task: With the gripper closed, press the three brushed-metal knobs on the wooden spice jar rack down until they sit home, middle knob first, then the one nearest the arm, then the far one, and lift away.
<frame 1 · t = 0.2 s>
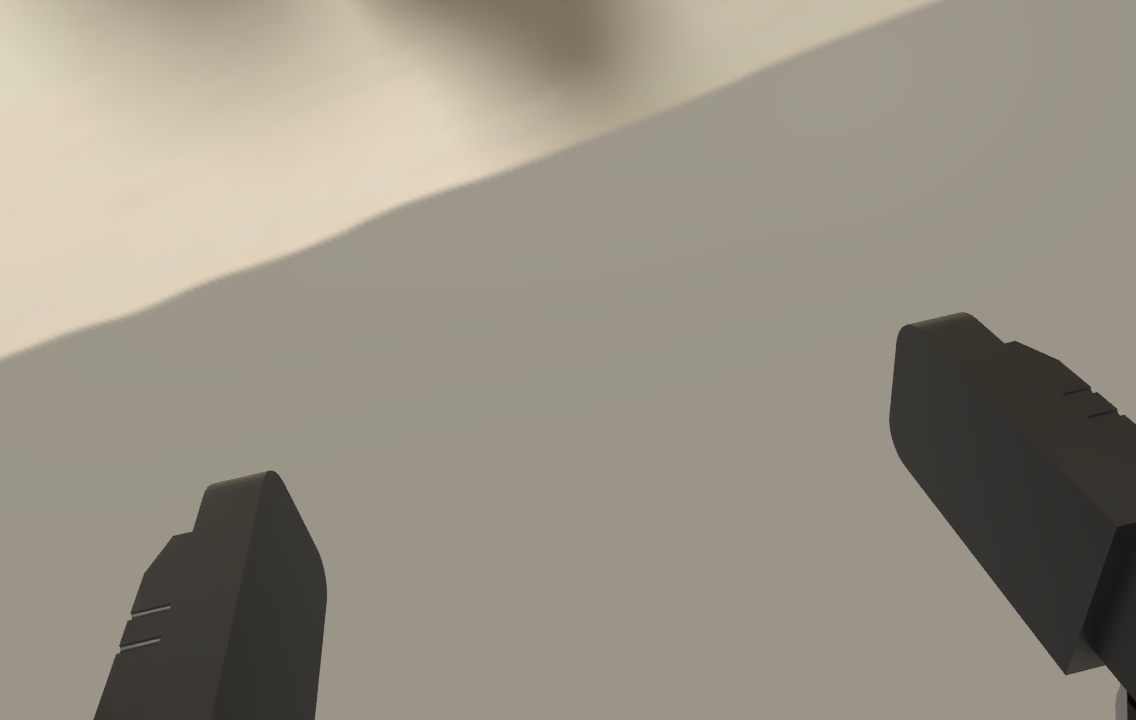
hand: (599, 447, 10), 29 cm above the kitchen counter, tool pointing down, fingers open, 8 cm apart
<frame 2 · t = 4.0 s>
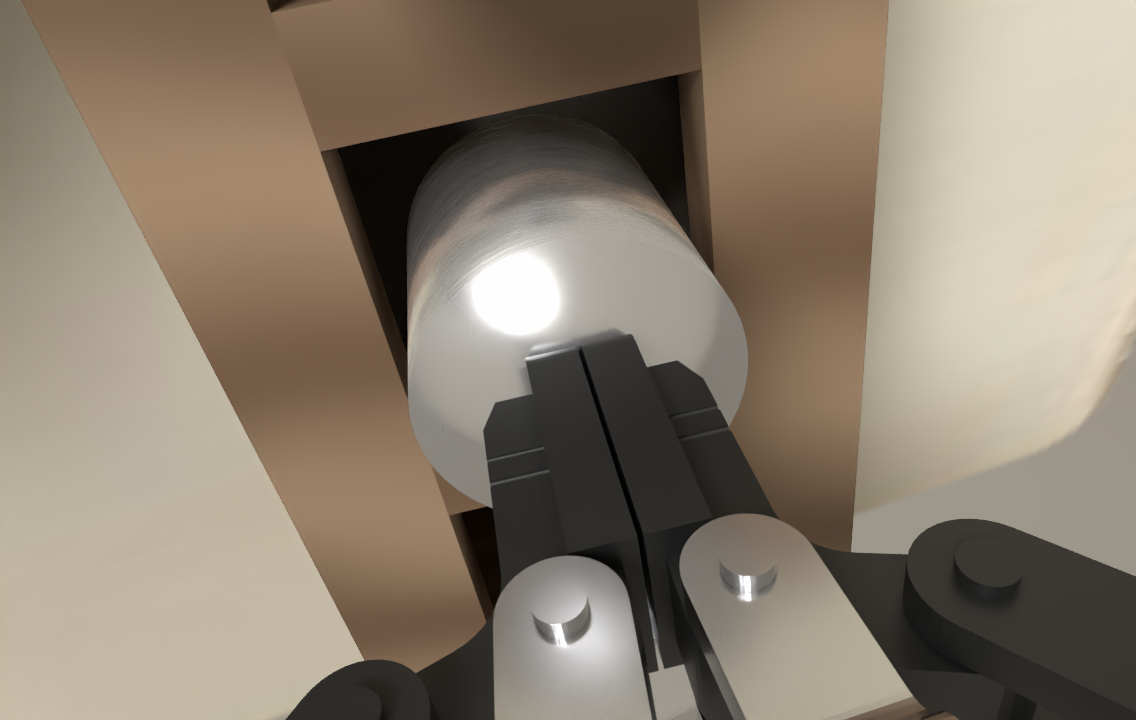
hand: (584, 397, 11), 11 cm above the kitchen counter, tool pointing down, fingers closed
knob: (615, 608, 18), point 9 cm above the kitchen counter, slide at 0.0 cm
wooden spice jar rack: (501, 131, 21), on the kitchen counter
knob middle: (555, 305, 13), point 9 cm above the kitchen counter, slide at 0.1 cm, touching gripper
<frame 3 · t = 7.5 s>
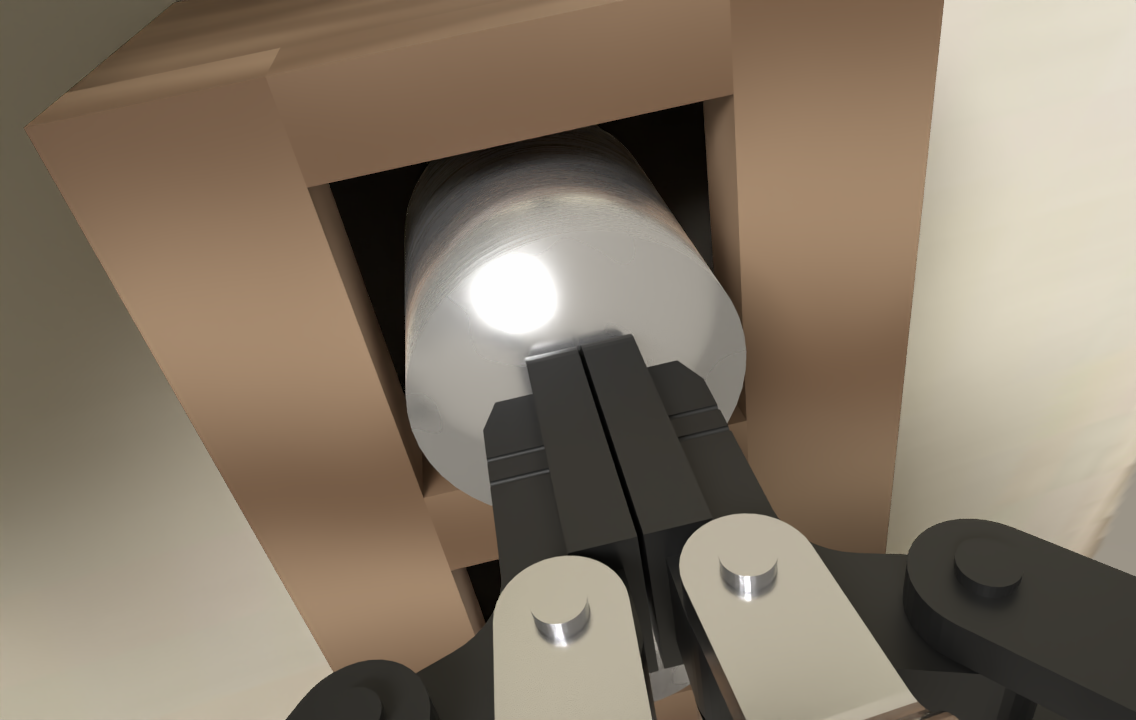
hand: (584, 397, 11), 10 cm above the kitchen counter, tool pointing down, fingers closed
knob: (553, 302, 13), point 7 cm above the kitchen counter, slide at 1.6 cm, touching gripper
wooden spice jar rack: (560, 405, 24), on the kitchen counter
knob middle: (601, 556, 19), point 6 cm above the kitchen counter, slide at 3.1 cm
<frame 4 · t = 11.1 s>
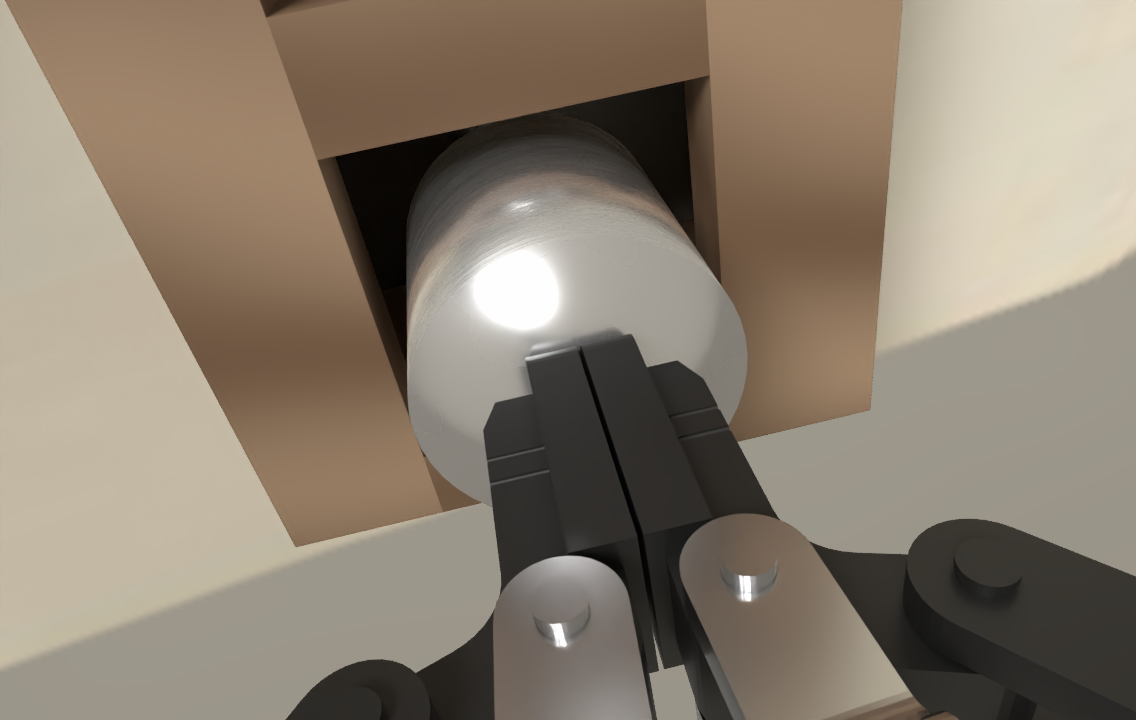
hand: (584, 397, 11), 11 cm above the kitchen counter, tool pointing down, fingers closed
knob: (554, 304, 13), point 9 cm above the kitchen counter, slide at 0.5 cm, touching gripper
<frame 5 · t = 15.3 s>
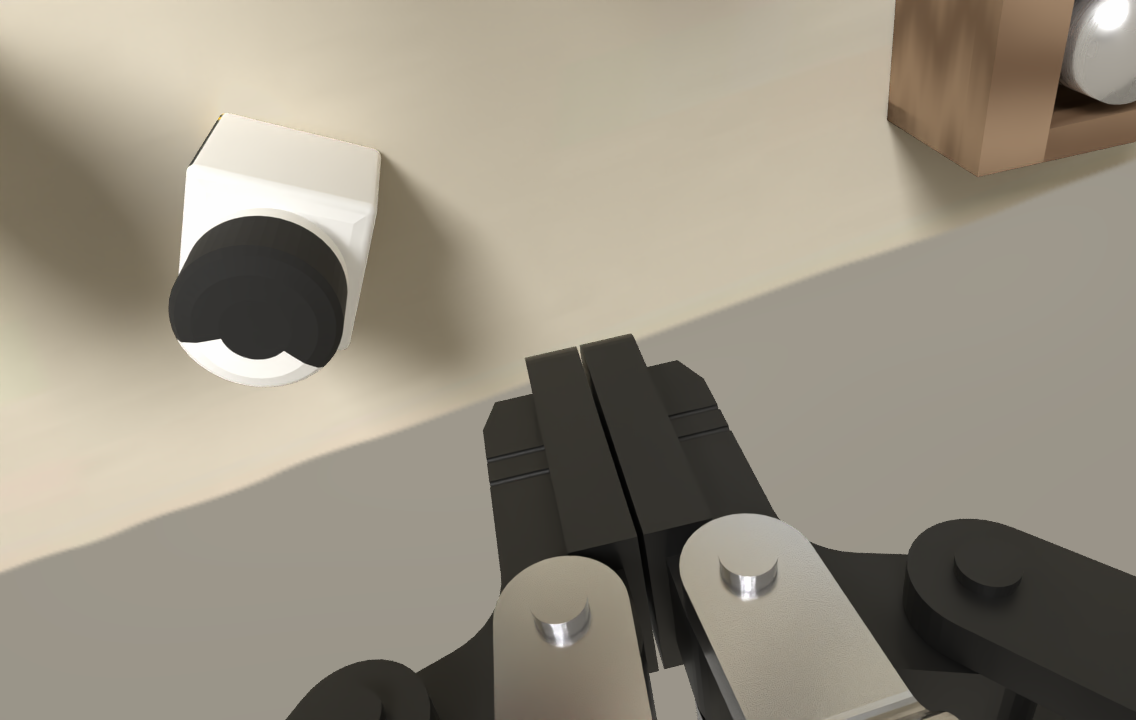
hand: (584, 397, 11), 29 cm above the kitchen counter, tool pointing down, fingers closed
medicine bottle: (294, 198, 39), on the kitchen counter
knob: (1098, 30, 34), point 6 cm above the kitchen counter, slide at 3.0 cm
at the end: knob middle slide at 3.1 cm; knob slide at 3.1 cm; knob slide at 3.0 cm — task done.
